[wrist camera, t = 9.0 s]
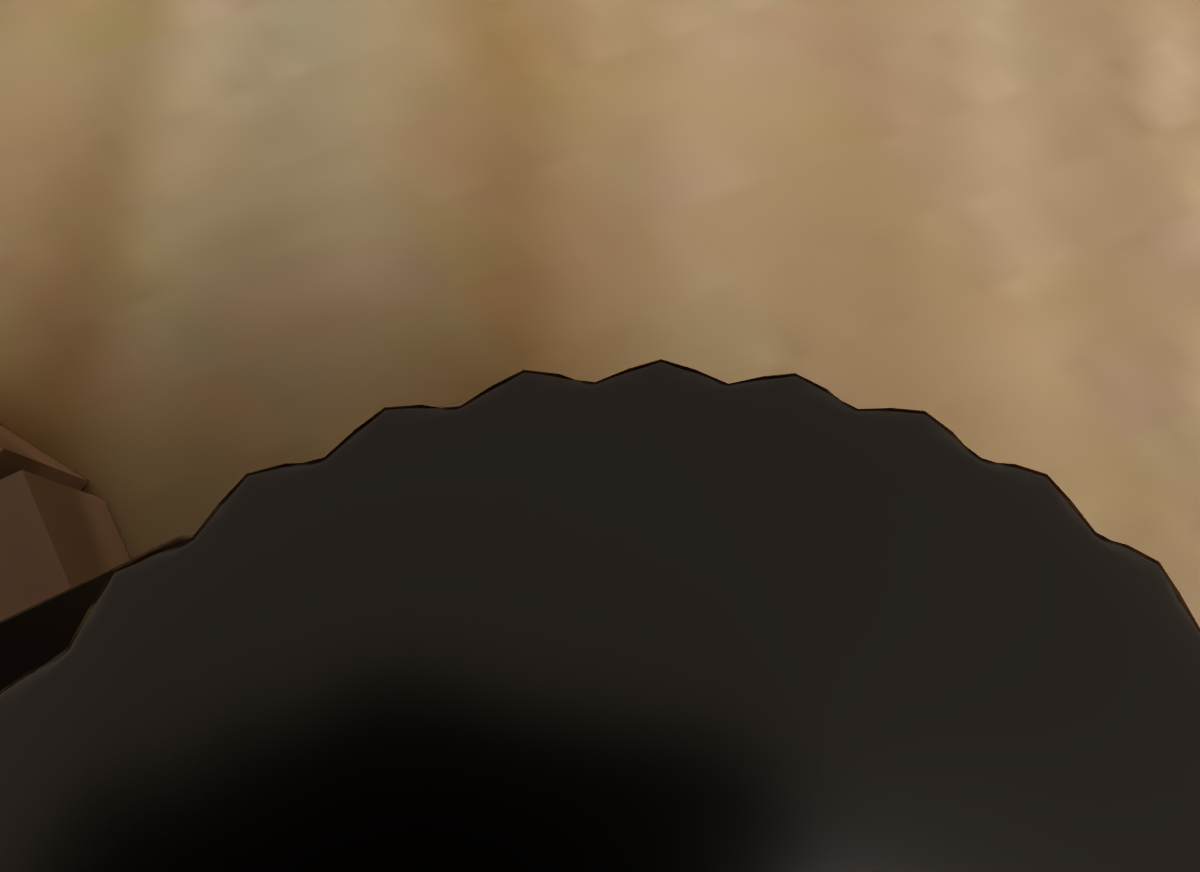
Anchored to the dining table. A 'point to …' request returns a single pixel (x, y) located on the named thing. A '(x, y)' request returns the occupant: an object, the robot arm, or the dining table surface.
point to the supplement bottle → (621, 657)
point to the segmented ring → (48, 527)
